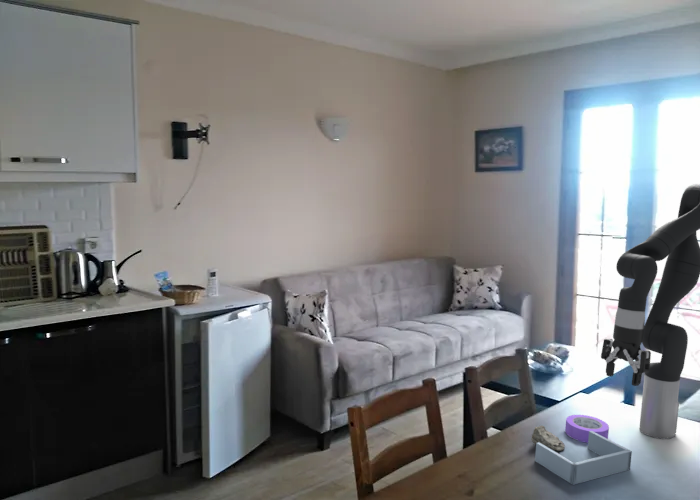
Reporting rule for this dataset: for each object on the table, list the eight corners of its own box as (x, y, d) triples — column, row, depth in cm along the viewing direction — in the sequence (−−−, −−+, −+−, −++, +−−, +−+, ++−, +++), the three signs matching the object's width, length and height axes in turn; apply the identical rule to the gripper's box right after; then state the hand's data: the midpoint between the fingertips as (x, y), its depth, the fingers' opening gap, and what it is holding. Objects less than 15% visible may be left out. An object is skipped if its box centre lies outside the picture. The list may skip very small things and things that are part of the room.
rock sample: (566, 445, 156) (547, 416, 161) (542, 460, 158) (523, 430, 162) (573, 448, 164) (555, 420, 169) (550, 462, 166) (532, 434, 171)
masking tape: (612, 434, 173) (613, 422, 173) (601, 448, 164) (602, 435, 163) (572, 423, 180) (573, 411, 180) (559, 435, 171) (560, 423, 171)
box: (590, 447, 163) (591, 430, 163) (630, 469, 152) (631, 451, 151) (534, 460, 155) (536, 442, 154) (572, 484, 143) (574, 465, 142)
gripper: (661, 330, 160) (653, 387, 162) (617, 318, 173) (610, 371, 175) (642, 331, 157) (634, 390, 159) (599, 319, 170) (592, 373, 172)
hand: (622, 380), depth 167 cm, fingers open, 8 cm apart
